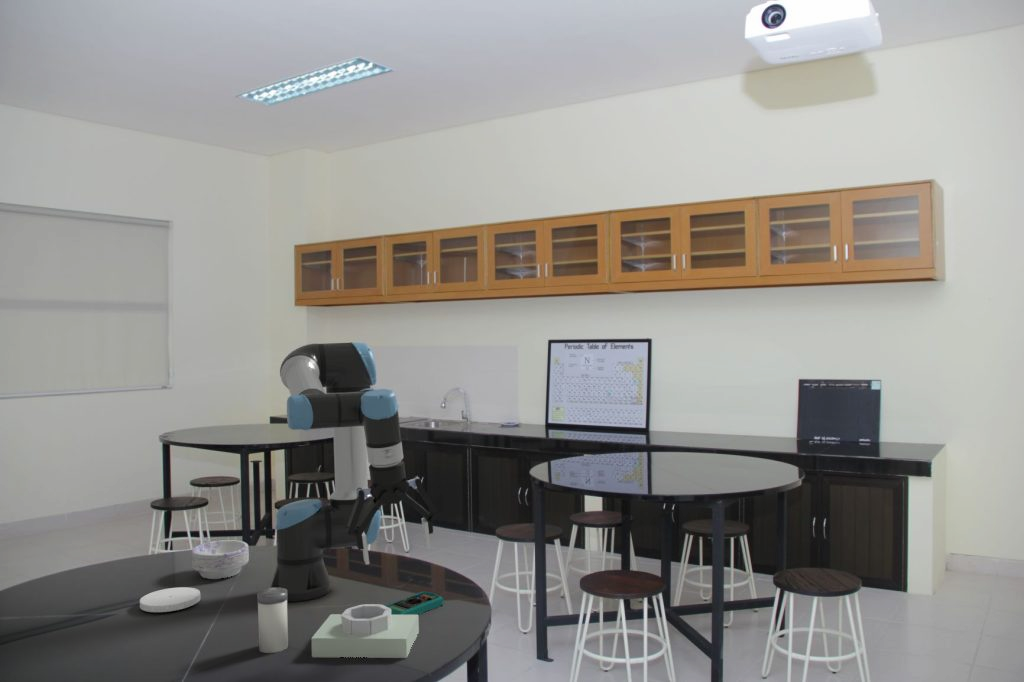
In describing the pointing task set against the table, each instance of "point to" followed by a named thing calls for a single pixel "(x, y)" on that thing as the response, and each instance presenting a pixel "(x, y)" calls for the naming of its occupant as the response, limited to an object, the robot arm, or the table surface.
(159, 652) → the table surface
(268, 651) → the white grey-capped cylinder
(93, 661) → the table surface
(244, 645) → the table surface
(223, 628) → the table surface
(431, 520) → the robot arm
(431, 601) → the digital multimeter
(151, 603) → the plastic lid
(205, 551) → the paper bowls
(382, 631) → the octagonal ring base plate
